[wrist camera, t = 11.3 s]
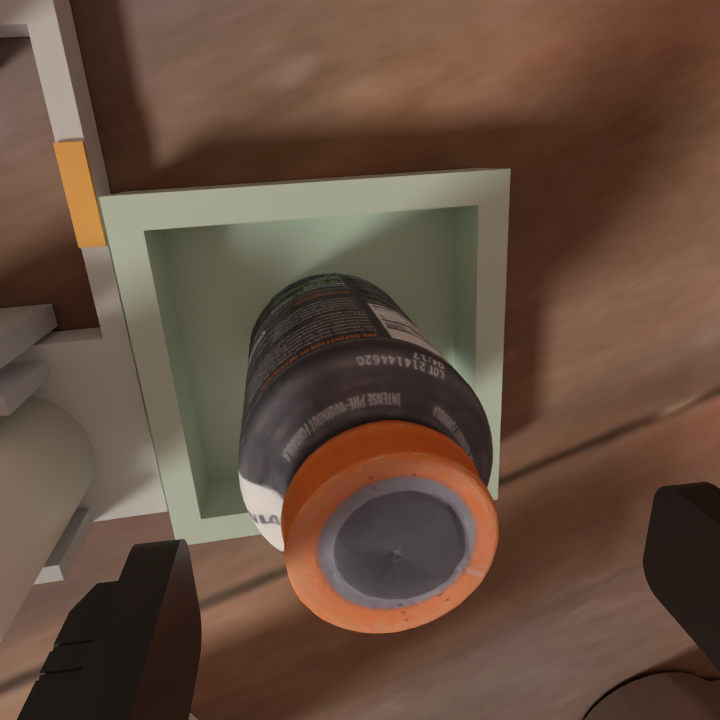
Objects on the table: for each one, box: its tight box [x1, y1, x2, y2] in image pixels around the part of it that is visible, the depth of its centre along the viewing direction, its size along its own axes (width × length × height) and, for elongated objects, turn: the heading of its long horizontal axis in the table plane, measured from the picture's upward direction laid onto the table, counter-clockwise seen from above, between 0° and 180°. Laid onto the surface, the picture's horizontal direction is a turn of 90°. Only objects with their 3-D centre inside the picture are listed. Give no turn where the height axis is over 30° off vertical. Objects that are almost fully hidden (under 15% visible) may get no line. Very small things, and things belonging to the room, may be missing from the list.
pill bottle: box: [238, 273, 499, 633], centre depth 15 cm, size 6×6×11 cm
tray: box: [99, 168, 511, 545], centre depth 19 cm, size 12×12×3 cm
